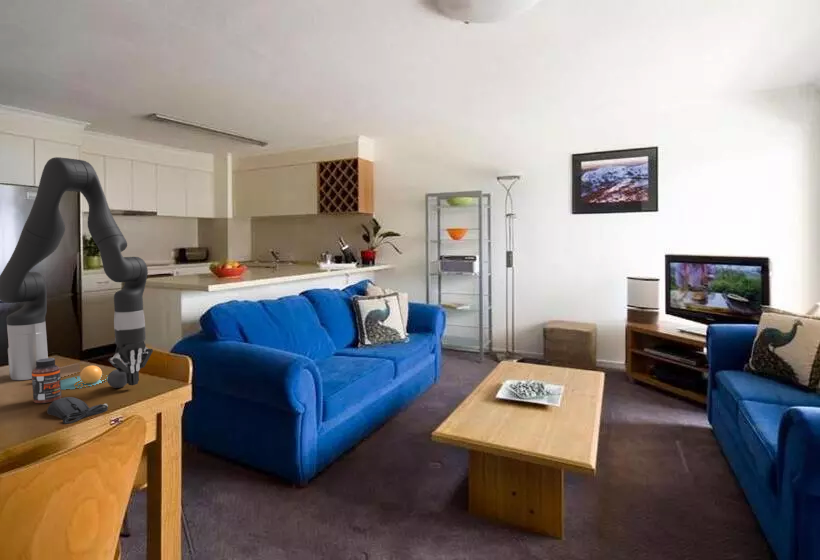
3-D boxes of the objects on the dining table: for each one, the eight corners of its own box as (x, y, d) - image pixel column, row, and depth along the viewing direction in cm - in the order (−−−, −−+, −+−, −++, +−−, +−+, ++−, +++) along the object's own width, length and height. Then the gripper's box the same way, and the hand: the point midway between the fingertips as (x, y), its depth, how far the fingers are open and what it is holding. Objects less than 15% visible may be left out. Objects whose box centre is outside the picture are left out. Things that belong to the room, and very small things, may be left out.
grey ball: (118, 376, 127) (114, 393, 128) (135, 370, 132) (132, 387, 133) (104, 368, 129) (101, 385, 129) (121, 364, 134) (118, 380, 135)
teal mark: (40, 386, 131) (40, 386, 131) (87, 373, 145) (87, 372, 145) (74, 391, 127) (74, 391, 127) (119, 377, 140) (119, 377, 140)
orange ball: (91, 382, 131) (79, 389, 132) (109, 377, 136) (97, 383, 138) (84, 365, 131) (72, 372, 133) (102, 360, 136) (90, 367, 138)
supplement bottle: (45, 405, 117) (42, 363, 116) (27, 403, 118) (24, 361, 117) (67, 397, 123) (64, 357, 122) (49, 395, 124) (47, 356, 123)
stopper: (36, 383, 135) (36, 373, 134) (76, 372, 146) (76, 363, 146) (40, 383, 134) (39, 373, 134) (80, 372, 146) (79, 363, 145)
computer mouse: (77, 403, 120) (76, 389, 120) (111, 412, 114) (110, 397, 114) (33, 416, 111) (32, 401, 110) (67, 426, 105) (66, 411, 104)
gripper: (140, 321, 135) (143, 376, 137) (98, 329, 123) (101, 390, 124) (159, 322, 133) (161, 379, 134) (118, 331, 120) (121, 393, 122)
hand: (132, 384), depth 129 cm, fingers closed
